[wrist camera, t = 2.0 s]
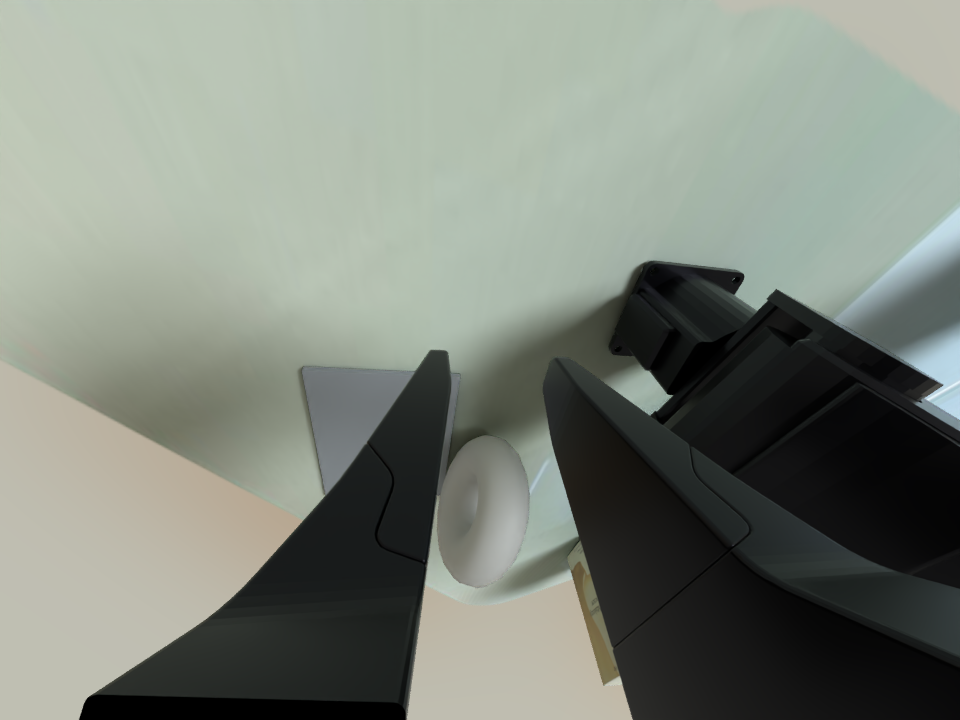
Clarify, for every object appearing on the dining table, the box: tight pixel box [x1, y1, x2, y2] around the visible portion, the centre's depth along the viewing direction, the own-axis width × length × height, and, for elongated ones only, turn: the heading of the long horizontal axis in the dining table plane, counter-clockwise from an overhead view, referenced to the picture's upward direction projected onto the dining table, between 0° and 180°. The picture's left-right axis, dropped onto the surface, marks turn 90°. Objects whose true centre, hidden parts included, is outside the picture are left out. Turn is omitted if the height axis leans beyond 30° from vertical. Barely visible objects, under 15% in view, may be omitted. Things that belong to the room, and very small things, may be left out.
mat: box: [302, 366, 460, 495], centre depth 27 cm, size 10×14×1 cm
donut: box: [437, 435, 530, 588], centre depth 25 cm, size 10×4×10 cm, turn 153°
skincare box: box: [567, 541, 622, 686], centre depth 38 cm, size 6×4×12 cm
